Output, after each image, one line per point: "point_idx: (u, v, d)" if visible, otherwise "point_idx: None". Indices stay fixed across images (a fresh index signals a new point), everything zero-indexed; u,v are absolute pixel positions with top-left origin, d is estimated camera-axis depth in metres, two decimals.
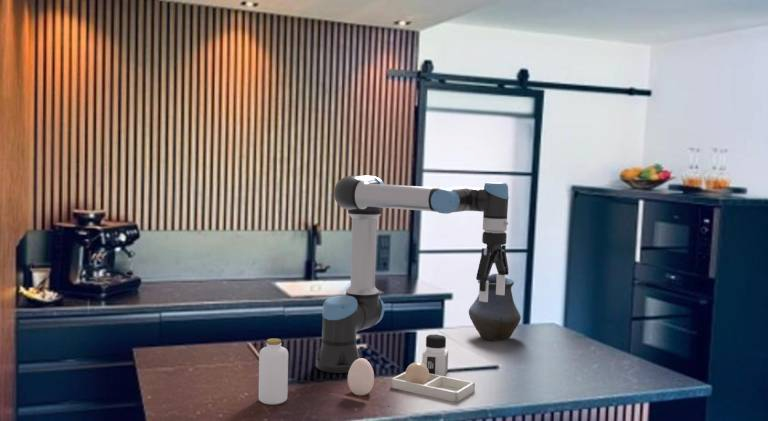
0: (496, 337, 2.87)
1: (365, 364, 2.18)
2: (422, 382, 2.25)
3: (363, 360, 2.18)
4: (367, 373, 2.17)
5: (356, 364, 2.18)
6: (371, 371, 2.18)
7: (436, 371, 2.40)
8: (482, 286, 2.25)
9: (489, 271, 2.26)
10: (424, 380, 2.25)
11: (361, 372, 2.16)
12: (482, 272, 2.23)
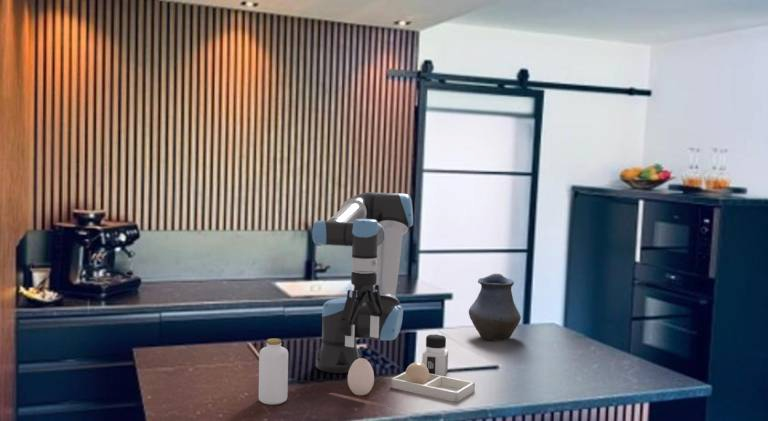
0: (496, 337, 2.87)
1: (365, 364, 2.18)
2: (422, 382, 2.25)
3: (363, 360, 2.18)
4: (367, 373, 2.17)
5: (356, 364, 2.18)
6: (371, 371, 2.18)
7: (436, 371, 2.40)
8: (347, 330, 2.11)
9: (355, 314, 2.13)
10: (424, 380, 2.25)
11: (361, 372, 2.16)
12: (346, 316, 2.10)
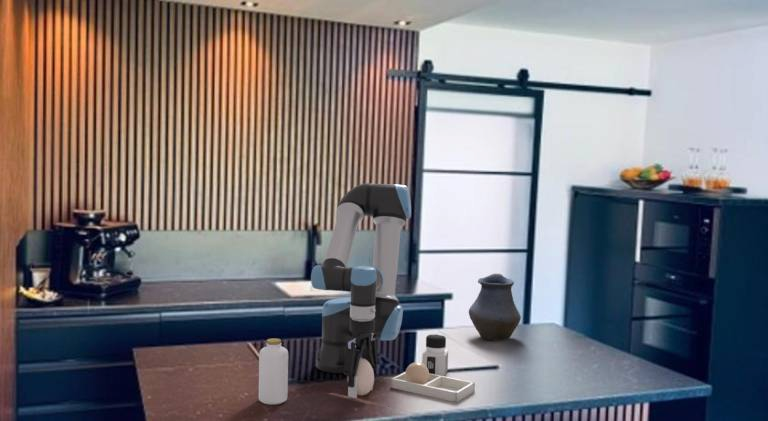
0: (496, 337, 2.87)
1: (365, 364, 2.18)
2: (422, 382, 2.25)
3: (363, 360, 2.18)
4: (367, 373, 2.17)
5: None
6: (371, 371, 2.18)
7: (436, 371, 2.40)
8: (350, 382, 2.15)
9: (357, 364, 2.15)
10: (424, 380, 2.25)
11: (361, 372, 2.16)
12: (348, 368, 2.13)
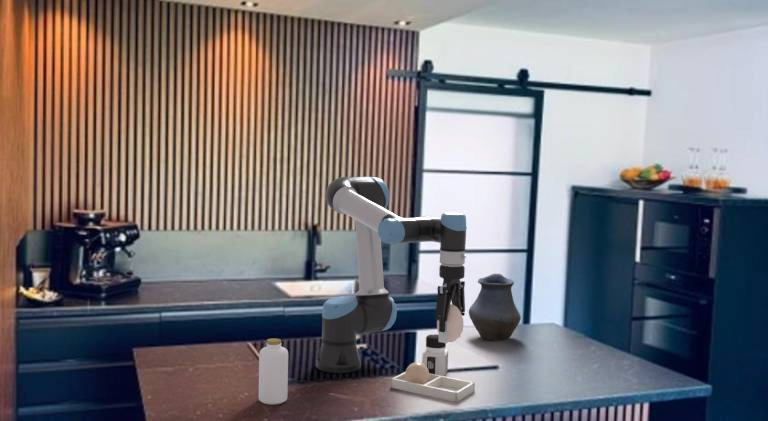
0: (496, 337, 2.87)
1: (456, 310, 2.19)
2: (422, 382, 2.25)
3: (453, 306, 2.19)
4: (457, 318, 2.18)
5: None
6: (461, 317, 2.19)
7: (436, 371, 2.40)
8: (441, 327, 2.16)
9: (448, 309, 2.16)
10: (424, 380, 2.25)
11: (452, 317, 2.17)
12: (440, 313, 2.14)
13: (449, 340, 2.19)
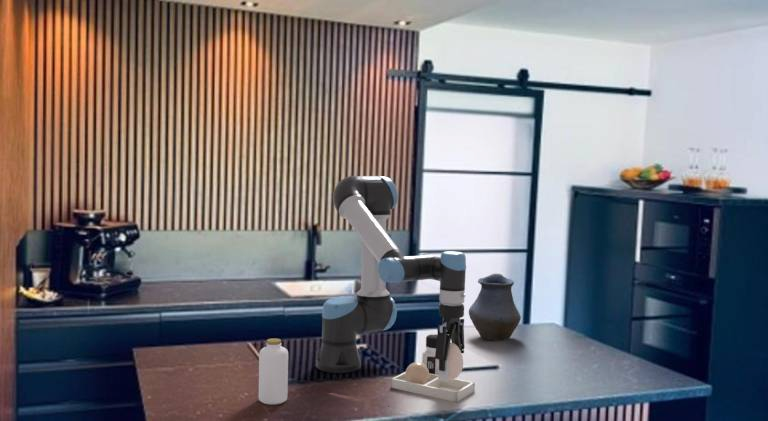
0: (496, 337, 2.87)
1: (455, 349, 2.20)
2: (422, 382, 2.25)
3: (452, 344, 2.21)
4: (457, 357, 2.19)
5: None
6: (461, 355, 2.20)
7: (436, 371, 2.40)
8: (441, 366, 2.17)
9: (448, 348, 2.18)
10: (424, 380, 2.25)
11: (452, 356, 2.18)
12: (440, 352, 2.15)
13: (449, 378, 2.20)
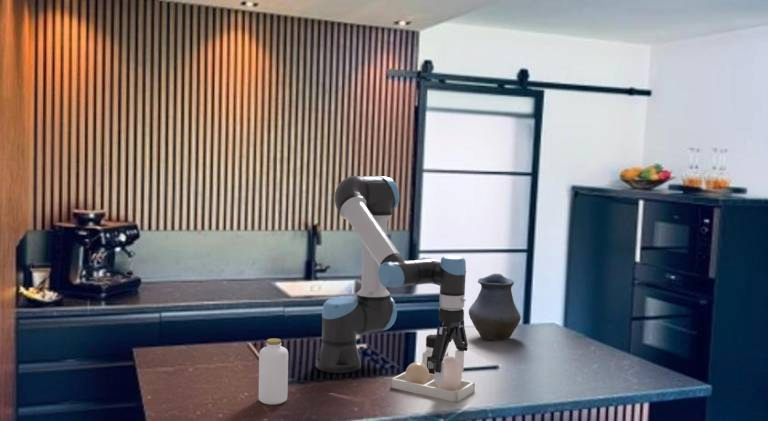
0: (496, 337, 2.87)
1: (454, 362, 2.20)
2: (422, 382, 2.25)
3: (451, 358, 2.21)
4: (456, 371, 2.19)
5: (444, 361, 2.20)
6: (459, 369, 2.20)
7: None
8: (437, 367, 2.15)
9: (445, 351, 2.16)
10: (424, 380, 2.25)
11: (450, 369, 2.18)
12: (437, 353, 2.13)
13: None
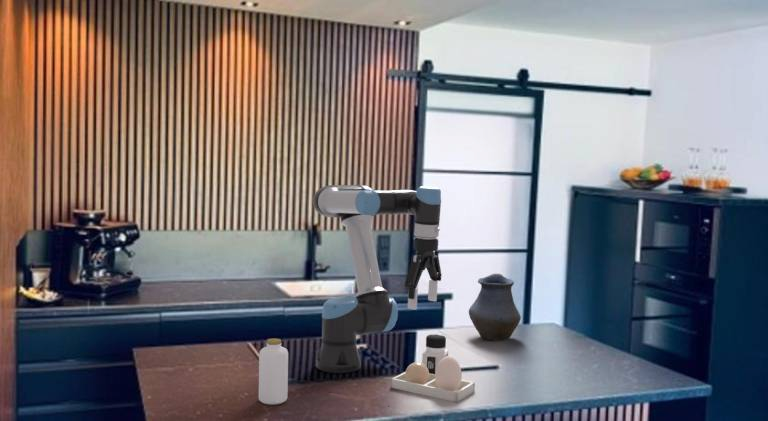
0: (496, 337, 2.87)
1: (454, 362, 2.20)
2: (422, 382, 2.25)
3: (451, 358, 2.21)
4: (456, 371, 2.19)
5: (444, 362, 2.20)
6: (459, 369, 2.20)
7: None
8: (411, 294, 2.20)
9: (418, 278, 2.21)
10: (424, 380, 2.25)
11: (450, 370, 2.18)
12: (411, 279, 2.18)
13: None
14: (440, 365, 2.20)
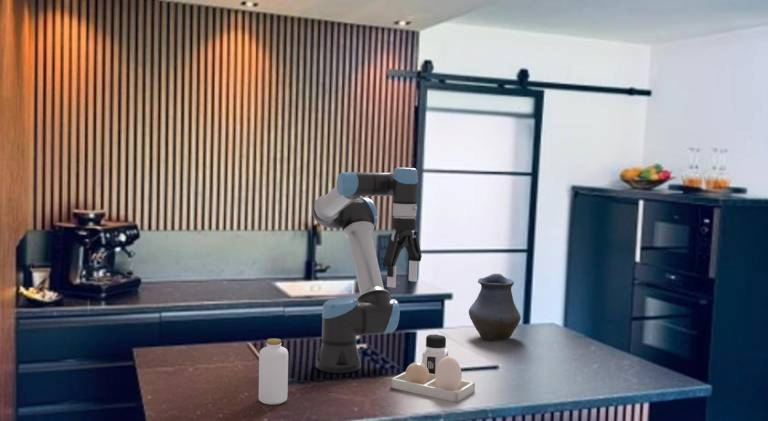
0: (496, 337, 2.87)
1: (454, 362, 2.20)
2: (422, 382, 2.25)
3: (451, 358, 2.21)
4: (456, 371, 2.19)
5: (444, 362, 2.20)
6: (459, 369, 2.20)
7: None
8: (389, 271, 2.24)
9: (397, 256, 2.25)
10: (424, 380, 2.25)
11: (450, 370, 2.18)
12: (389, 257, 2.22)
13: None
14: (440, 365, 2.20)
